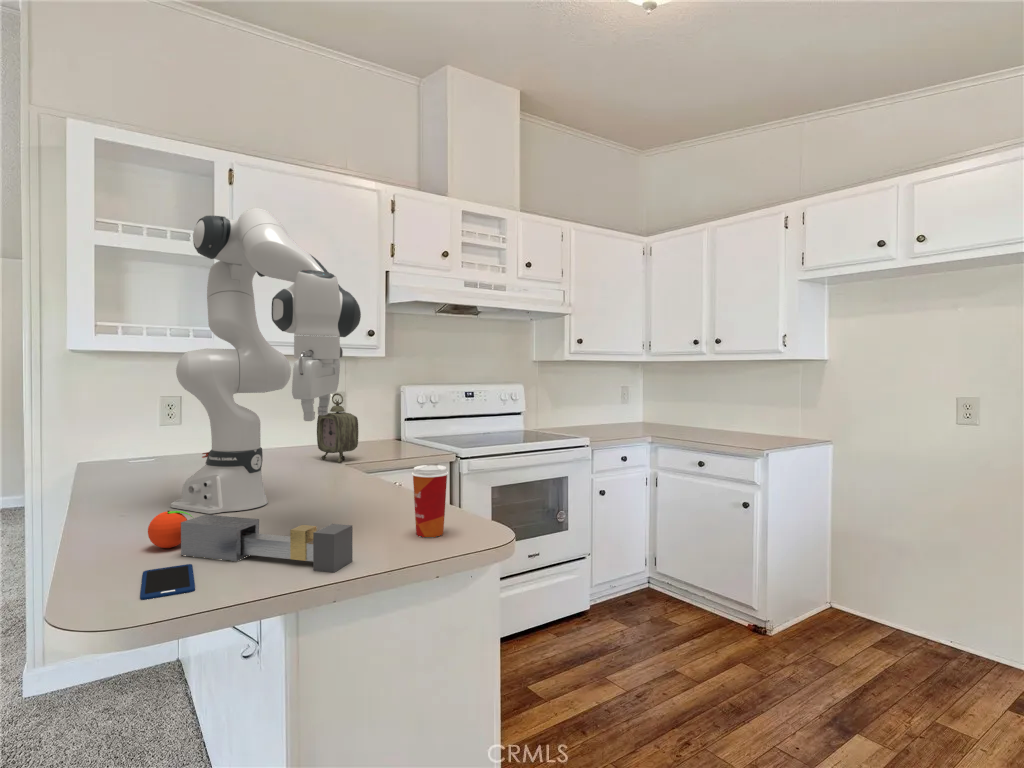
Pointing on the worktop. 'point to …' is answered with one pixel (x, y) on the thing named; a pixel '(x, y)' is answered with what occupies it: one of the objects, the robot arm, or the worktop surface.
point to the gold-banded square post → (281, 544)
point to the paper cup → (429, 499)
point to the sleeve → (216, 536)
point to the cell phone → (167, 581)
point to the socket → (332, 547)
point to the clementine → (166, 529)
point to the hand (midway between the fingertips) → (316, 417)
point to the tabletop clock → (337, 431)
